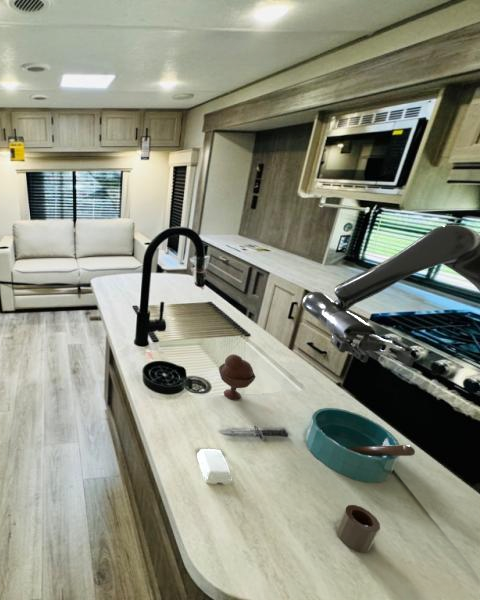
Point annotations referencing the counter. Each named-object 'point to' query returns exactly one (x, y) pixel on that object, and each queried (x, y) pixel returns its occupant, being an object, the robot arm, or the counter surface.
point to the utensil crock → (358, 528)
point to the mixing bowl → (350, 444)
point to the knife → (257, 433)
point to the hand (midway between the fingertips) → (388, 360)
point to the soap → (214, 466)
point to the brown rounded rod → (384, 450)
